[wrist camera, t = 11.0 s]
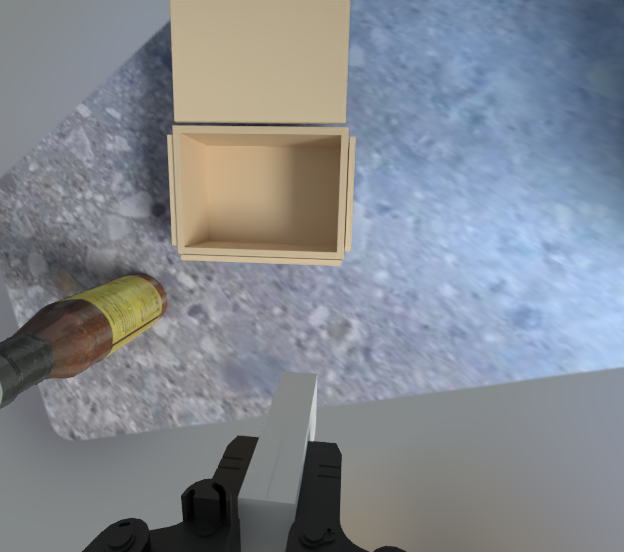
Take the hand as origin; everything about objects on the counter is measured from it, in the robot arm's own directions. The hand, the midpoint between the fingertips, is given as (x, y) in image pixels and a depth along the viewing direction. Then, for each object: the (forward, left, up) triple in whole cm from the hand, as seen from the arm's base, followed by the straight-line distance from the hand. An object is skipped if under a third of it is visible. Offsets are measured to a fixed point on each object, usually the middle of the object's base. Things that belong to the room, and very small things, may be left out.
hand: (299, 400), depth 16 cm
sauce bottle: (+21, +3, -25) cm, 32 cm away
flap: (+6, -15, -17) cm, 24 cm away
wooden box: (+6, -9, -24) cm, 27 cm away
